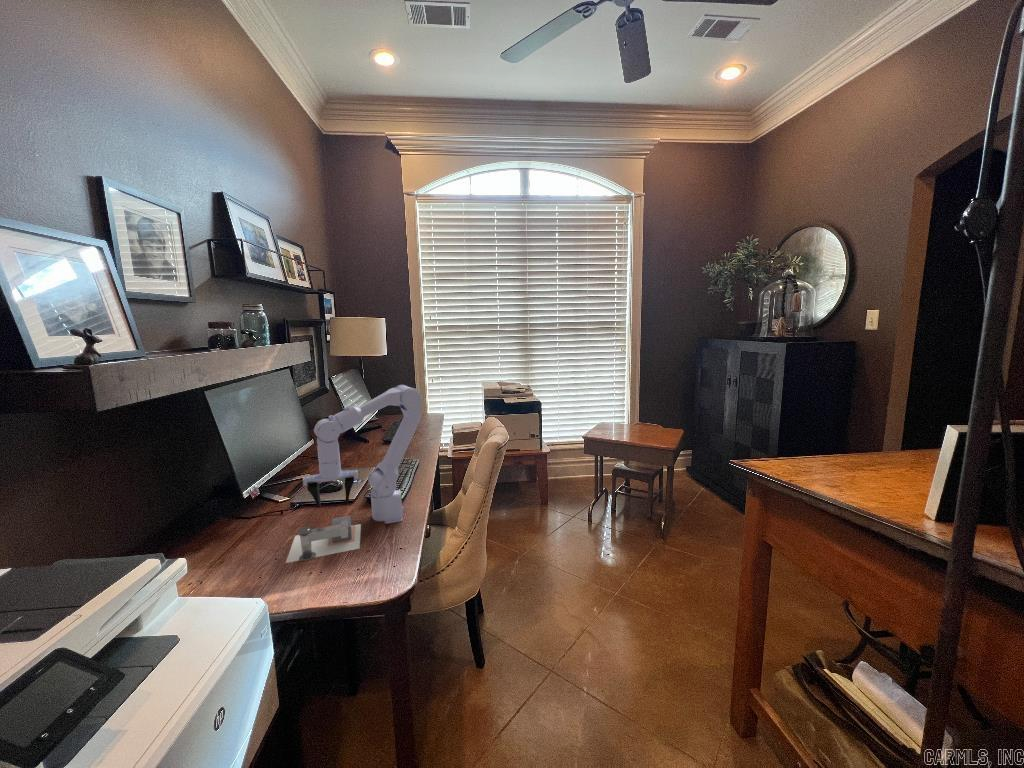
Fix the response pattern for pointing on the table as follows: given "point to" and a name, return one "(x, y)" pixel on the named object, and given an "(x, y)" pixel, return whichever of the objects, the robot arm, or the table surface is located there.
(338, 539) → the grey rectangular block
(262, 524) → the table surface
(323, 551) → the board
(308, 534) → the latch
